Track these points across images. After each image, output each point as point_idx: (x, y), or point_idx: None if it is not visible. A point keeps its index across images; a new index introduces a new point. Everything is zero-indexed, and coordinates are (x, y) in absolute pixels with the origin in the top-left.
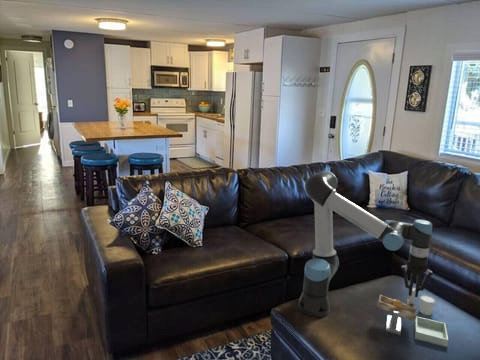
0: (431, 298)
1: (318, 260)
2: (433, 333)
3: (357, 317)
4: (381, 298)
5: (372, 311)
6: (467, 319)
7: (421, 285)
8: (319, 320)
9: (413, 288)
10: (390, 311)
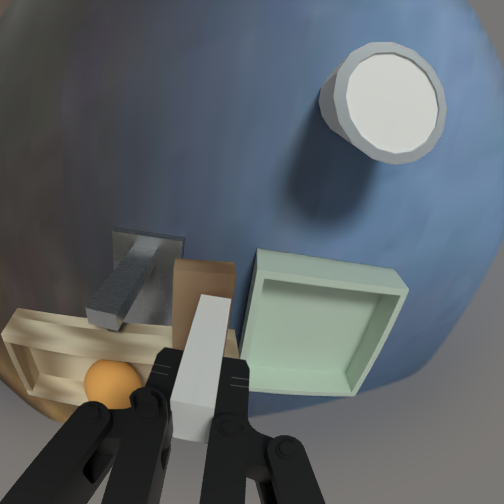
0: (426, 85)
1: None
2: (327, 322)
3: (22, 279)
4: (23, 330)
5: (53, 209)
6: None
7: (276, 482)
8: None
9: (187, 408)
10: None
